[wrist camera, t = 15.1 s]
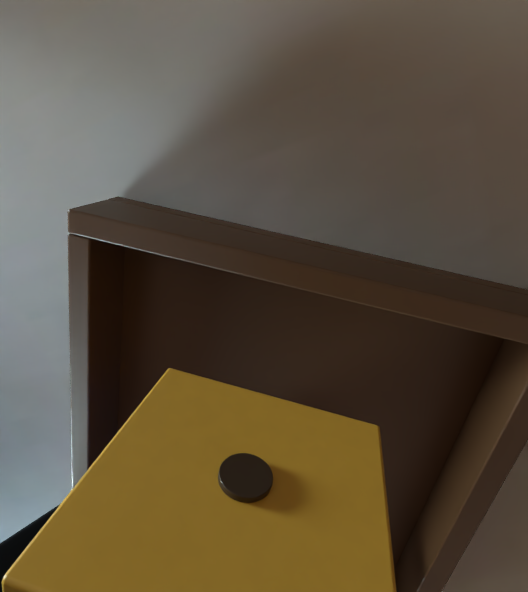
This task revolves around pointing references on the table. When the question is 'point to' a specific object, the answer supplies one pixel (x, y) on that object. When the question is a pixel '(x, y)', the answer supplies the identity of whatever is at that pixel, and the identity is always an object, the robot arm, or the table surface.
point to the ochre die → (220, 502)
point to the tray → (307, 354)
